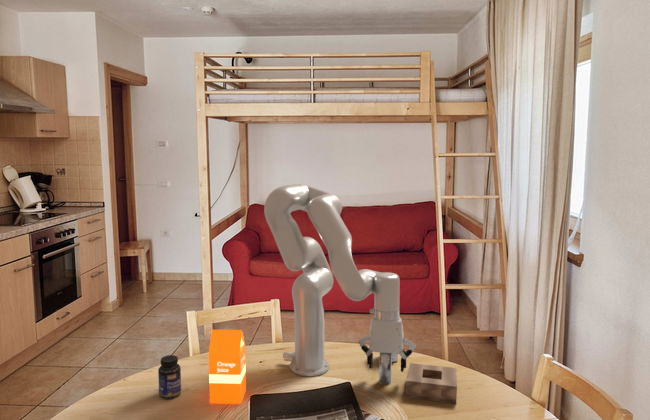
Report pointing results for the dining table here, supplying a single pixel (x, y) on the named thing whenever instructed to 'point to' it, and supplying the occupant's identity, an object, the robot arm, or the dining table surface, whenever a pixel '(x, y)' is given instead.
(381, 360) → the pin
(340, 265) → the robot arm
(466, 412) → the dining table surface
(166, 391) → the pill bottle
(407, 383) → the socket block
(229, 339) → the orange juice
